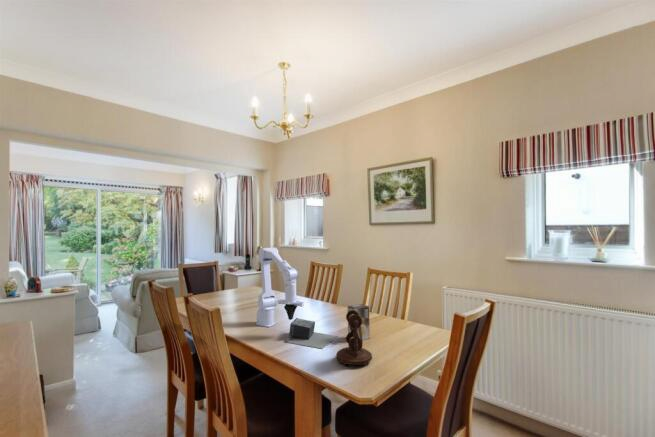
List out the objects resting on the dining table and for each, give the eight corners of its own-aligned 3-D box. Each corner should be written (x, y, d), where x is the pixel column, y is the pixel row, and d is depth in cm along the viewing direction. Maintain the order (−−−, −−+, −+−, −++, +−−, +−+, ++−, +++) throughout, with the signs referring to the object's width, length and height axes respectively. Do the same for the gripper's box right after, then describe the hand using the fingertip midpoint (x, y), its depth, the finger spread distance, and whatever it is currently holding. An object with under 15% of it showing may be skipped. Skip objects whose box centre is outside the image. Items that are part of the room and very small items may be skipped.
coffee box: (362, 335, 161) (362, 303, 161) (369, 338, 155) (369, 306, 155) (347, 338, 156) (347, 305, 157) (354, 342, 151) (354, 308, 151)
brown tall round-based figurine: (375, 367, 123) (375, 316, 124) (338, 369, 122) (338, 317, 123) (367, 352, 138) (367, 307, 138) (334, 353, 137) (334, 308, 137)
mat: (285, 342, 151) (285, 340, 151) (303, 331, 167) (303, 329, 167) (322, 349, 142) (322, 346, 142) (337, 336, 158) (337, 334, 158)
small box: (288, 336, 155) (308, 340, 153) (290, 323, 155) (310, 327, 153) (295, 329, 165) (314, 333, 163) (296, 317, 165) (315, 320, 163)
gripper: (274, 292, 160) (274, 319, 160) (298, 295, 154) (298, 323, 153) (282, 290, 166) (282, 315, 166) (305, 292, 160) (305, 319, 160)
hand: (290, 319), depth 160 cm, fingers closed
